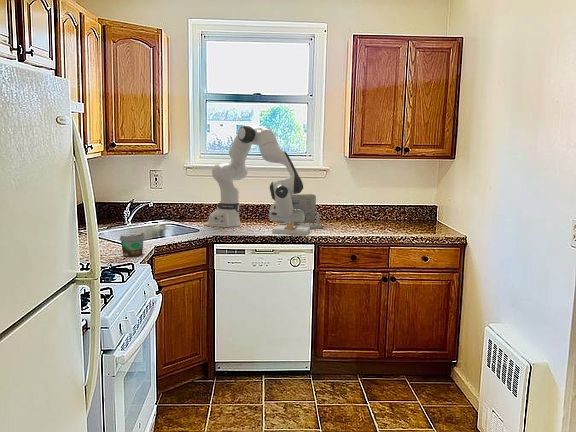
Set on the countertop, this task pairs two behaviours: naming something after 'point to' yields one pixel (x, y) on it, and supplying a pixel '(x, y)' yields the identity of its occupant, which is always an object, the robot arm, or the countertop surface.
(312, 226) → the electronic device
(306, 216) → the network device
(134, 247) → the food container
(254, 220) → the countertop surface
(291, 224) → the switch tab
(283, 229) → the switch panel
